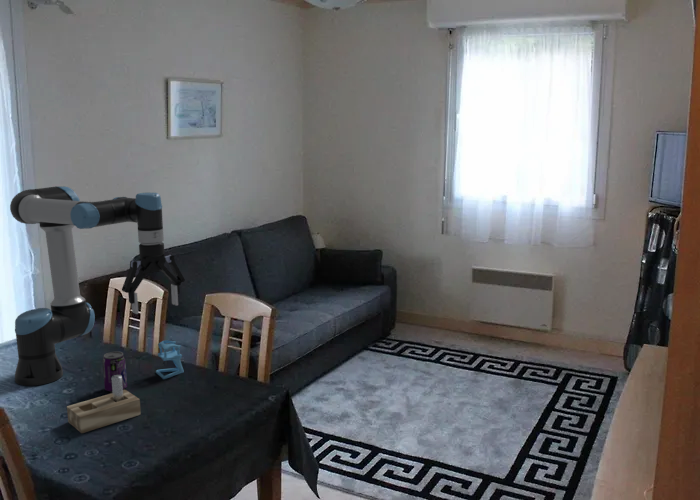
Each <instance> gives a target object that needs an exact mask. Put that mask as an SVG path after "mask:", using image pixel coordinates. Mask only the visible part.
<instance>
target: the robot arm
mask: <svg viewBox="0 0 700 500" xmlns="http://www.w3.org/2000/svg"><path fill="white" fill-rule="evenodd" d="M162 204H163V203H162V197H161V195H160V193H158V192H141V193H137V194H136V195H135V198H133V197H127V196H117V197H113V198H112V199H106V200H99V201H83V200H80V198H79V196H78V195H77V192H75V191H74V190H73V189H72V188H70V187H68V186H64V185H63V186H50V187H41V188H33V189H31V188H29V189H25V190H23V191H20V192H18V193H17V194H15V195H14V196H13V198H12V199H11V201H10V205H9V211H10V213H11V214H10V215H12V217H13V219H15V220H16V221H17V222H20V223H21V224H25V225H26V224H27V225H35V224H39V228H40V229H41V230H43V231H44V232H45V238H46V247H47V253H48V254H47V255H48V261H49V269H50V276H51V284H52V290H53V291H52V292H53V300H52V301H51V302H50V308H48V307H39V308H34V309H29V310H27V311H25V312H22V313H20V314H19V315H18V316H17V317H16V318H15V321H14V333H15V339H16V346H17V347H16V348H17V356H18V360H17V363H16V364H17V366H16V369H15V372H14V382H15V383H16V384H17V385H20V386H25V387H26V386H27V387H30V386H31V387H33V386H41V385H47V384H49V383H53V382H55V381H57V380H59V379H61V378H62V377H63V376H64V371H63V370H64V369H63V366H62V364H61V362H60V360H59V358H58V356H57V354H56V345H57V344H60V343H63V342H65V341H69V340H72V339H75V338H80V337H82V336H84V335H87V334H89V333H90V332H91V331H92V329H93V328H94V324H95V320H96V319H95V318H96V317H95V316H96V315H95V310H94V309H93V308H92V306H91V304H90V303H89V302H86V298H85V297H83V296H82V295H81V291H80V284H79V275H78V267H77V260H76V259H77V258H76V253H75V251H76V250H75V244H74V236H73V228H74V227H76V229H80V230H85V229H86V230H87V229H92V228H97V227H103V226H110V225H116V224H117V225H118V224H122V223H137V239H138V242H139V245H138V253H139V260H133V259H131V260H130V261H129V268H128V271H127V274H126V277H125V279H124V281H123V285H122V288H121V291H122V292H124V293H127V294H128V302H129V304H130V305H131V312H132V313H133V314H135V315H138V314H139V302H138V301H139V299H138V293H137V292H136V291H137V289H138V288H139V286H140V284H142V282H143V281H144V278H145V277H146V276H147V275H148V274H153V273H158V272H161V273H162V274H164V276H166V278H168V280H169V281H171V282H172V283H171V284H170V289H171V290H170V292H171V294H170V295H171V305H173V306H179V297H178V296H179V295H180V293H181V292H180V286H181V285H182V283H184V282H185V281H186V279H185V278H184V277H185V276H183V273H182V272H181V270H180V268H179V267H178V265H177V263H176V261H175V256H174V255H172V254H167V255H166V256H165V243H164V228H163V225H164V221H163V205H162ZM166 262H167V263H168V265H169V267H170V268H171V270H172V272H173V273H172V272H170V270H168V268H167V266H165V263H166ZM139 266H140V267H139ZM138 268H139V270H138ZM137 270H138V273H137ZM136 273H137V275H136ZM174 275H175V276H174Z"/></svg>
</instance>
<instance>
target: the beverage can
mask: <svg viewBox="0 0 700 500" xmlns="http://www.w3.org/2000/svg"><path fill="white" fill-rule="evenodd" d="M102 358H103V359H102V361H101V362H102V373H103V384H104V390H105V391H106V392H110V393H113V392H112V380H111V377H112V376H114V375H122V385H123V390H126V389H127V387H128V380H127V379H128V378H127V367H126V366H127V365H126V358H125V356H124V352H122V351H110V352H107V353H104V354H103V357H102Z"/></svg>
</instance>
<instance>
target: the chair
mask: <svg viewBox="0 0 700 500" xmlns="http://www.w3.org/2000/svg"><path fill="white" fill-rule="evenodd" d="M176 342H177V341H174V340H173V341H172V340H167V339H166V340H162V341H160V342H159V343H158V350H159V353H157V357H159V358H160V359H161V360H162V361H163V362H165V361H167V362H168V361H172V362H173V364H174V365H175V367H172V368H171V367H170V368H163V369H157V370H155V373H156V375H158V376H159V377H160V378H161V379H162V380H167V379H169V378H172V377H174V376H177V375H181V374H183V373H184V368H183V364H182V361H181V359H183V354H181V353H180V351H181V348H182V344H181V345H180V344H179V345H178V344H176ZM170 349H172V350H170ZM176 349H177V350H176ZM168 350H169V351H168ZM167 372H168V373H169V372H172V373H169V374H165V375H164V374H163V373H167Z"/></svg>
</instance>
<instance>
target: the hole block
mask: <svg viewBox="0 0 700 500" xmlns="http://www.w3.org/2000/svg"><path fill="white" fill-rule="evenodd" d="M123 398H124V400H122V401H119V402H115V401H113V392H110V393H108V394H105V395H102V396H98V397H95V398H91V399H88V400H85V401H81V402H80V401H79V402H77V403H74V404H70V405H67V406H66V412H67V423H69V424H70V426H72V427H73V428H75V429H76V430H77V431H78V432H79V433H80V434H84V433H87V432H91V431H95V430H97V429H99V428H103V427H106V426H109V425H113V424H115V423H119V422H122V421H125V420H127V419H132V418H135V417H137V416H140V415H142V414H141V413H142V412H141V411H142V410H141V399H140V397H139V398H138V397H137V396H136V395H134V394H132V393H131V392H130V391H128V390H127V389H123Z"/></svg>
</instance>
